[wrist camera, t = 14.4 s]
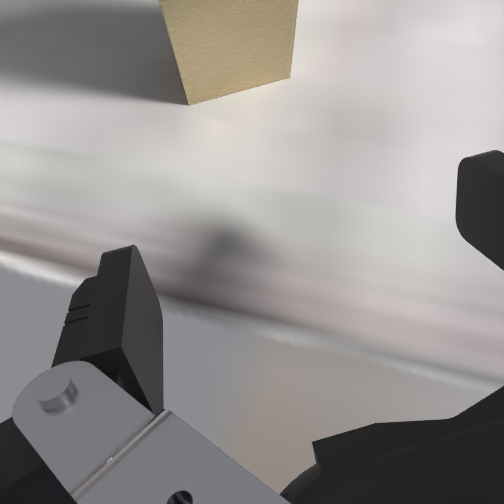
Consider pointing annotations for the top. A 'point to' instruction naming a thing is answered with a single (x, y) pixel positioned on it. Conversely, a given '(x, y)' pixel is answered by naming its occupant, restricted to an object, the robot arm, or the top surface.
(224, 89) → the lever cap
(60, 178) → the top surface
